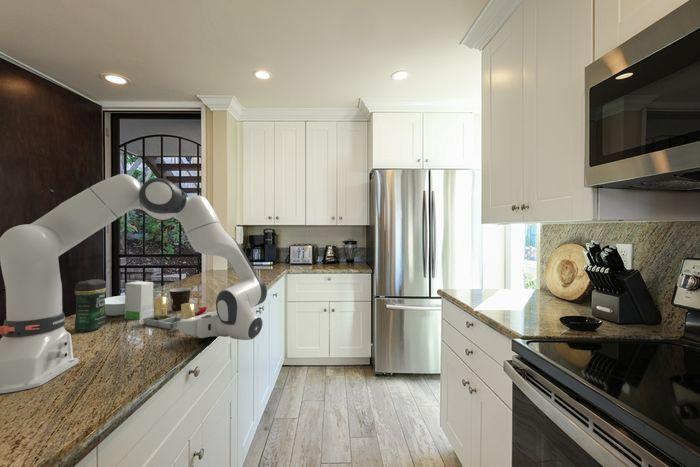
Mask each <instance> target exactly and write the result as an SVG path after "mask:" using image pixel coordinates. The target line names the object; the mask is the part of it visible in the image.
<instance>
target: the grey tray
mask: <svg viewBox="0 0 700 467" xmlns="http://www.w3.org/2000/svg"><path fill="white" fill-rule="evenodd" d="M180 319H181V317H180V316H175V315H169V314H167V318H166V319H162V320H159V321H158V320H154V316H151V317H148V318H144V326H145V325H146V326H151V327H156V328H161V329H168V330H174V329H179V328H178V325H179V321H180Z"/></svg>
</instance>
